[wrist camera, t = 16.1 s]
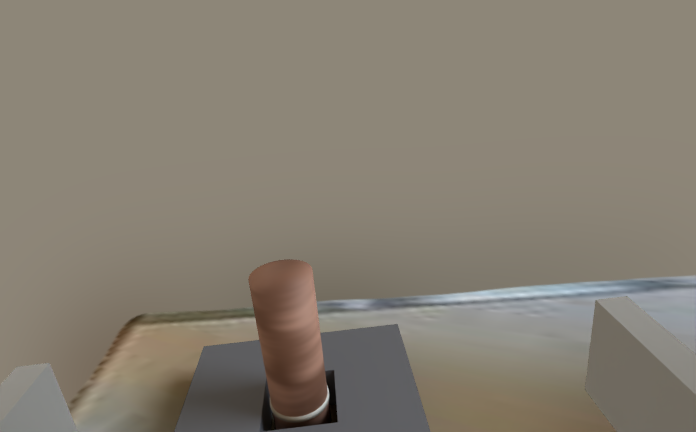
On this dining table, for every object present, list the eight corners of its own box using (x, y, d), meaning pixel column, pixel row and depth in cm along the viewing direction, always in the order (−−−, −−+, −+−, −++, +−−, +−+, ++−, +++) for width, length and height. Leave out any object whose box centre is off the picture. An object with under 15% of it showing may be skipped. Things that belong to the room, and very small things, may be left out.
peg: (332, 410, 43) (313, 255, 37) (335, 454, 38) (313, 286, 32) (278, 416, 43) (251, 262, 37) (275, 462, 38) (242, 294, 32)
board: (399, 355, 49) (397, 324, 48) (444, 518, 32) (444, 477, 31) (211, 377, 48) (203, 346, 47) (158, 556, 32) (144, 516, 30)
